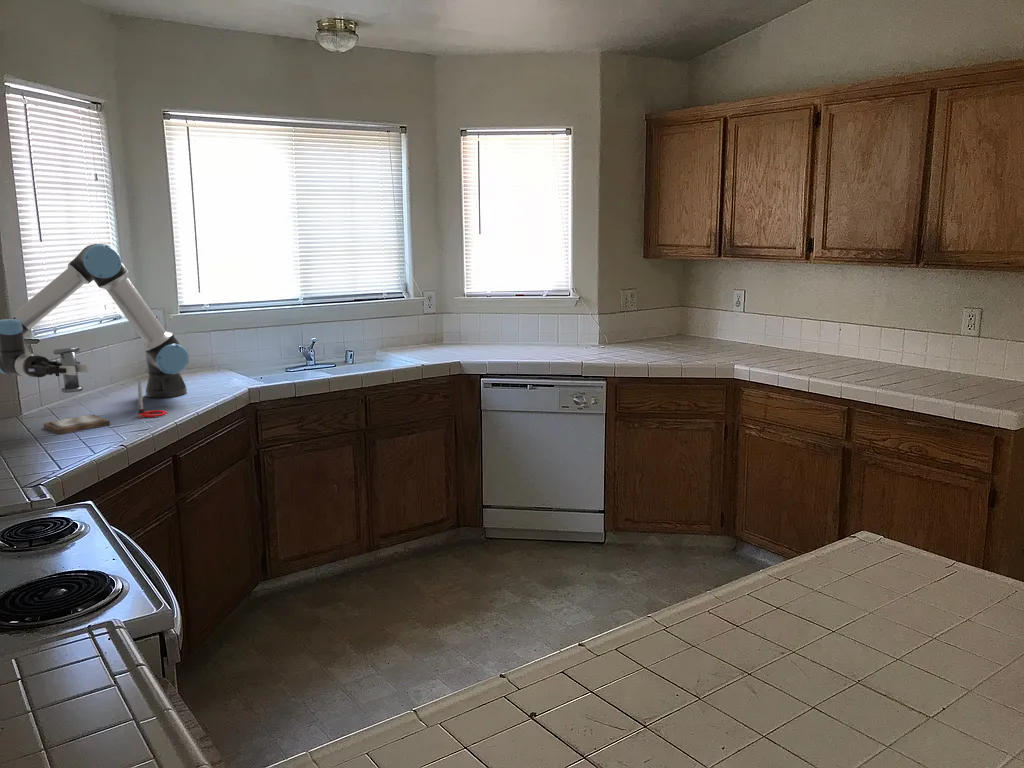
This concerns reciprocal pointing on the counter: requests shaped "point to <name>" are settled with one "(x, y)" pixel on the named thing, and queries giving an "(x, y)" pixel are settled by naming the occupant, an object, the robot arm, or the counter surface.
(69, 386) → the metal mooring bollard
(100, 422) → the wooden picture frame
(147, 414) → the tow hook
